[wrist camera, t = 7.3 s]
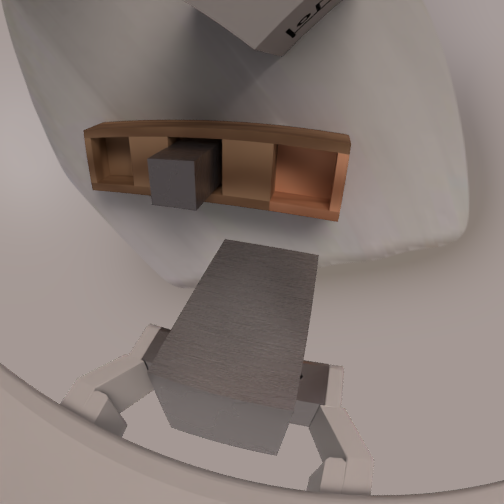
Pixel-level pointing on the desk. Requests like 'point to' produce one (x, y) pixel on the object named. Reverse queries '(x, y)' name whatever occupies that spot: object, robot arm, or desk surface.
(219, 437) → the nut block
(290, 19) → the icon cube
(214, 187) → the block
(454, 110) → the desk surface
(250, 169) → the wooden compartment tray
